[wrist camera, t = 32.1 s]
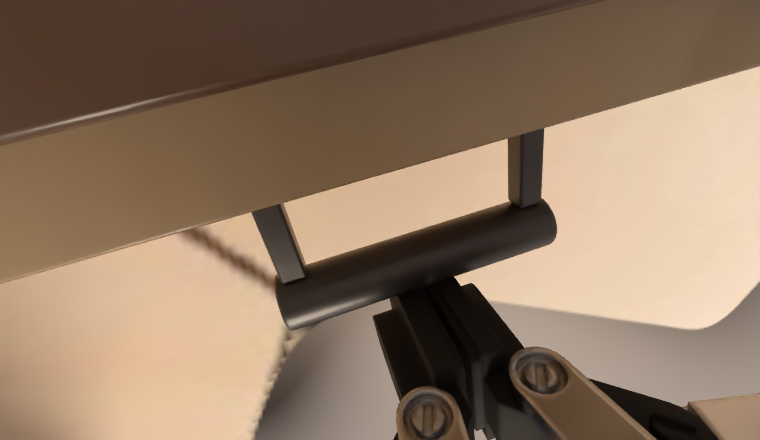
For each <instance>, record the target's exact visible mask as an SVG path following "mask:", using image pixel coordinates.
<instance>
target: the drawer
mask: <svg viewBox="0 0 760 440" xmlns="http://www.w3.org/2000/svg"><path fill="white" fill-rule="evenodd" d="M758 66H760V0H606V1H601V2H597V3H593V4H589V5H585V6H581V7H577V8H572V9H568V10H564V11H560V12H556V13H552V14H547V15H543V16H539V17H535V18H531V19H527V20H522V21H518V22H514V23H510V24H506V25H502V26H498V27H493V28H489V29H485V30H481V31H477V32H473V33H468V34H464V35H460V36H456V37H452V38H448V39H443V40H439V41H435V42H431V43H427V44H423V45H419V46H414V47H410V48H406V49H402V50H398V51H394V52H389V53H385V54H381V55H377V56H373V57H369V58H364V59H360V60H356V61H352V62H348V63H344V64H340V65H335V66H331V67H327V68H323V69H319V70H315V71H310V72H306V73H302V74H298V75H294V76H290V77H285V78H281V79H277V80H273V81H269V82H265V83H261V84H256V85H252V86H248V87H244V88H240V89H236V90H231V91H227V92H223V93H219V94H215V95H211V96H207V97H202V98H198V99H194V100H190V101H186V102H182V103H177V104H173V105H169V106H165V107H161V108H157V109H152V110H148V111H144V112H140V113H136V114H132V115H128V116H123V117H119V118H115V119H111V120H107V121H103V122H98V123H94V124H90V125H86V126H82V127H78V128H73V129H69V130H65V131H61V132H57V133H53V134H49V135H44V136H40V137H36V138H32V139H28V140H24V141H19V142H15V143H11V144H7V145H3V146H0V284H2V283H5V282H9V281H12V280H16V279H19V278H23V277H26V276H29V275H33V274H36V273H40V272H43V271H47V270H50V269H54V268H57V267H61V266H64V265H68V264H71V263H75V262H78V261H82V260H85V259H89V258H92V257H96V256H99V255H103V254H106V253H110V252H113V251H117V250H120V249H124V248H127V247H131V246H134V245H138V244H141V243H145V242H148V241H152V240H155V239H159V238H162V237H165V236H169V235H172V234H176V233H179V232H183V231H186V230H190V229H193V228H197V227H200V226H204V225H207V224H211V223H214V222H218V221H221V220H225V219H228V218H232V217H235V216H239V215H242V214H246V213H249V212H251V213H252V215H253V217H254V220H255V222H256V224H257V227H258V229H259V232H260V234H261V236H262V239H263V241H264V243H265V246H266V248H267V250H268V253H269V255H270V257H271V260H272V262H273V264H274V267H275V269H276V271H277V275H276V276H275V279H274V287H275V294H276V298H277V303H278V306H279V309H280V312H281V315H282V318H283V320H284V322H285V324H286V326H287V327H288V328H289V329H290V330H296V329H299V328H302V327H305V326H308V325H311V324H314V323H317V322H320V321H323V320H326V319H328V318H332V317H334V316H338V315H341V314H344V313H347V312H349V311H353V310H356V309H359V308H361V307H365V306H368V305H370V304H373V303H376V302H379V301H382V300H385V299H388V298H391V297H394V296H397V295H400V294H403V293H406V292H409V291H412V290H415V289H418V288H421V287H424V286H427V285H430V284H433V283H436V282H439V281H442V280H445V279H448V278H451V277H454V276H457V275H460V274H463V273H466V272H469V271H472V270H475V269H478V268H481V267H484V266H487V265H490V264H493V263H496V262H499V261H502V260H505V259H508V258H511V257H514V256H517V255H520V254H523V253H526V252H529V251H531V250H534V249H537V248H540V247H543V246H546V245H549V244H551V243H552V242H553V241H554V240H555V238H556V234H557V225H556V220H555V217H554V214H553V212H552V210H551V208H550V206H549V205H548V204H547V202H546V201H545V200H544V199H542V198H541V188H542V166H543V143H544V128H546V127H549V126H553V125H556V124H560V123H563V122H566V121H570V120H573V119H577V118H580V117H584V116H587V115H591V114H594V113H598V112H601V111H605V110H608V109H612V108H615V107H619V106H622V105H626V104H629V103H633V102H636V101H640V100H643V99H647V98H650V97H654V96H657V95H661V94H664V93H668V92H671V91H675V90H678V89H682V88H685V87H689V86H692V85H696V84H699V83H702V82H706V81H709V80H713V79H716V78H720V77H723V76H727V75H730V74H734V73H737V72H741V71H744V70H748V69H751V68H755V67H758ZM507 138H508V198H509V200H510V201H509V202H506V203H503V204H500V205H497V206H493V207H490V208H487V209H484V210H481V211H477V212H474V213H471V214H468V215H465V216H461V217H458V218H455V219H452V220H449V221H445V222H442V223H439V224H436V225H433V226H429V227H426V228H423V229H420V230H417V231H413V232H410V233H407V234H404V235H401V236H397V237H394V238H391V239H388V240H385V241H381V242H378V243H375V244H372V245H369V246H365V247H362V248H359V249H356V250H353V251H349V252H346V253H343V254H340V255H337V256H333V257H330V258H327V259H324V260H321V261H317V262H314V263H311V264H308V265H305V261H304V258H303V256H302V253H301V250H300V247H299V245H298V242H297V239H296V237H295V234H294V231H293V228H292V226H291V223H290V220H289V218H288V215H287V212H286V209H285V207H284V204H283V203H284V202H288V201H291V200H295V199H298V198H301V197H305V196H308V195H312V194H315V193H319V192H322V191H326V190H329V189H333V188H336V187H340V186H343V185H347V184H350V183H354V182H357V181H361V180H364V179H368V178H371V177H375V176H378V175H382V174H385V173H389V172H392V171H396V170H399V169H403V168H406V167H410V166H413V165H417V164H420V163H424V162H427V161H430V160H434V159H437V158H441V157H444V156H448V155H451V154H455V153H458V152H462V151H465V150H469V149H472V148H476V147H479V146H483V145H486V144H490V143H493V142H497V141H500V140H504V139H507Z"/></svg>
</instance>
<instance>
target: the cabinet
mask: <svg viewBox="0 0 760 440" xmlns="http://www.w3.org/2000/svg"><path fill="white" fill-rule="evenodd" d="M601 1H606V0H0V146H3V145H7V144H11V143H15V142H19V141H24V140H28V139H32V138H36V137H40V136H44V135H49V134H53V133H57V132H61V131H65V130H69V129H73V128H78V127H82V126H86V125H90V124H94V123H98V122H103V121H107V120H111V119H115V118H119V117H123V116H128V115H132V114H136V113H140V112H144V111H148V110H152V109H157V108H161V107H165V106H169V105H173V104H177V103H182V102H186V101H190V100H194V99H198V98H202V97H207V96H211V95H215V94H219V93H223V92H227V91H231V90H236V89H240V88H244V87H248V86H252V85H256V84H261V83H265V82H269V81H273V80H277V79H281V78H285V77H290V76H294V75H298V74H302V73H306V72H310V71H315V70H319V69H323V68H327V67H331V66H335V65H340V64H344V63H348V62H352V61H356V60H360V59H364V58H369V57H373V56H377V55H381V54H385V53H389V52H394V51H398V50H402V49H406V48H410V47H414V46H419V45H423V44H427V43H431V42H435V41H439V40H443V39H448V38H452V37H456V36H460V35H464V34H468V33H473V32H477V31H481V30H485V29H489V28H493V27H498V26H502V25H506V24H510V23H514V22H518V21H522V20H527V19H531V18H535V17H539V16H543V15H547V14H552V13H556V12H560V11H564V10H568V9H572V8H577V7H581V6H585V5H589V4H593V3H597V2H601Z"/></svg>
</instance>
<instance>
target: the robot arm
mask: <svg viewBox="0 0 760 440" xmlns="http://www.w3.org/2000/svg"><path fill="white" fill-rule="evenodd" d="M390 302H391V307H392V310H389V311H386V312H383V313H380V314H377V315H374V316H373V320H374V323H375V327H376V331H377V335H378V338H379V341H380V345H381V348H382V351H383V354H384V357H385V360H386V363H387V366H388V368H389V372H390V375H391V378H392V380H393V383H394V386H395V389H396V392H397V395H398V398H399V401H400V403H399V405H398V408H397V411H396V425H397V433H396V436H395V438H394V440H475V438H474V429H475V430H476V431H478V430H480V429H482V430H483V432H484V434H485V436H486V438H487V440H490V439H493V438H496V440H760V393H758V394H750V395H742V396H734V397H725V398H717V399H709V400H701V401H692V402H688V405H687V406H685V407H679V406H677V405H674V404H672V403H669V402H666V401H663V400H659V399H656V398H653V397H649V396H646V395H643V394H639V393H636V392H632V391H629V390H626V389H622V388H619V387H615V386H612V385H609V384H606V383H602V382H599V381H595V380H592V379H589V378H587V377H586V376H584V375H583V374H582V373H581V372H580V371H579V370H578V369H576V368H575V367H574V366H573V365H572V364H571V363H570V362H569V361H567V360H566V359H565V358H564V357H562V356H561V355H560V354H558V353H557V352H555V351H552V350H550V349H547V348H542V347H527V348H524V347H523V345H522V344H521V343H520V342H519V340H518V339H517V338H516V337H515V335H514V334H513V333H512V332H511V330H510V329H509V328H508V326H507V325H506V324H505V323H504V322H503V320H502V319H501V318H500V316H499V315H498V314H497V313H496V311H495V310H494V309H493V307H492V306H491V305H490V304H489V302H488V301H487V300H486V299H485V297H484V296H483V295H482V294H481V292H480V291H479V290H478V288H477V287H476V286H475V285H474V284H472V283H469V284H466V285H463V286H460V284H459V283H458V282H457V280H456V279H455V277H451V278H448V279H445V280H442V281H439V282H436V283H433V284H430V285H427V286H424V287H421V288H418V289H415V290H412V291H409V292H406V293H403V294H400V295H397V296H394V297H391V298H390Z"/></svg>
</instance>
